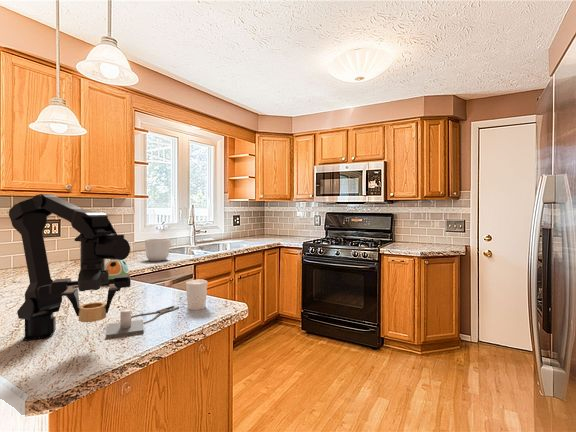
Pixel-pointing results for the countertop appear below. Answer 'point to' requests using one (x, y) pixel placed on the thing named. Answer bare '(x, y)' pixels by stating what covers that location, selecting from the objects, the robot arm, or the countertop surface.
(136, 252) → the countertop surface
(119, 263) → the turtle holder
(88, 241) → the robot arm
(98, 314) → the ring
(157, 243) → the planter
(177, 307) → the pliers
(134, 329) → the grey peg stand
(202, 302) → the white cup
